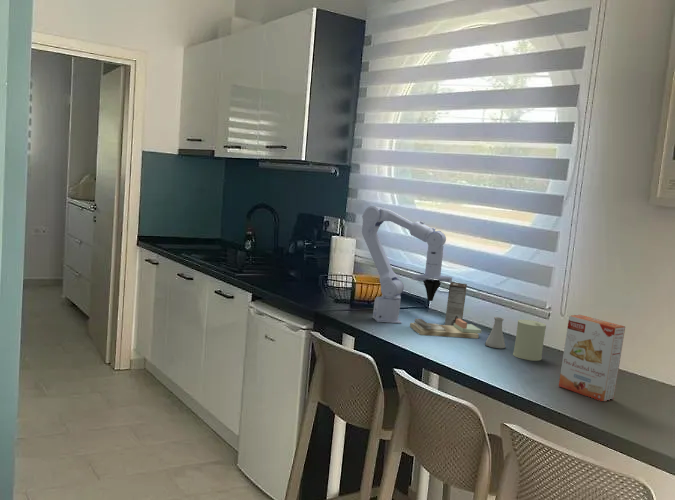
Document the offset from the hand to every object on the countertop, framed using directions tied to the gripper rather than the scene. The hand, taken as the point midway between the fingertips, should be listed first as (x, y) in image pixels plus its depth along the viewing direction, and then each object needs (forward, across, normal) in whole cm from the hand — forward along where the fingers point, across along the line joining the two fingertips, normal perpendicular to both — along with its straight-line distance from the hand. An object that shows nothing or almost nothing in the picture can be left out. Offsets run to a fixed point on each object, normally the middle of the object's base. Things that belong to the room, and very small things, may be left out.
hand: (429, 300), depth 256 cm
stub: (+9, +13, -6) cm, 17 cm away
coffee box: (+11, +14, +8) cm, 19 cm away
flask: (+11, +18, -22) cm, 30 cm away
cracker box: (+12, +22, -71) cm, 75 cm away
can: (+11, +24, -34) cm, 43 cm away
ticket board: (+10, +4, -6) cm, 13 cm away
